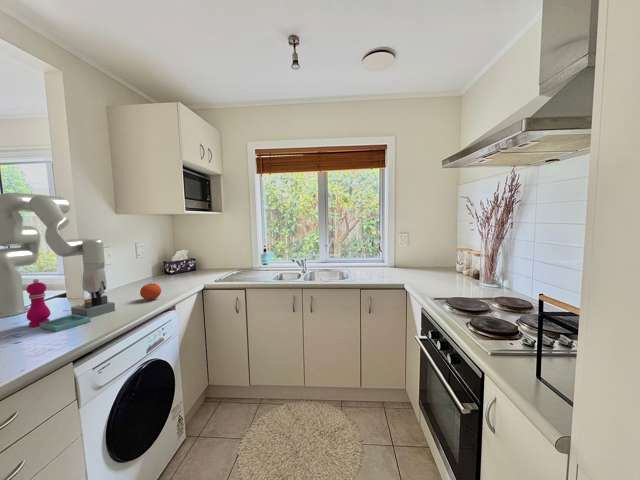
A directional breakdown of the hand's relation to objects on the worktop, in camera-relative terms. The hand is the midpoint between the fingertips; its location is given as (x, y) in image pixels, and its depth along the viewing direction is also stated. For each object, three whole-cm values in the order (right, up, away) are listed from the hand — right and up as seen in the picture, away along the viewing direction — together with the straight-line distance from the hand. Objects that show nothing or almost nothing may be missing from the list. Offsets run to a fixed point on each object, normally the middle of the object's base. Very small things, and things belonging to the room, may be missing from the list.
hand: (96, 305), depth 128 cm
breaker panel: (-6, -5, +6) cm, 10 cm away
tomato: (+8, -4, +28) cm, 30 cm away
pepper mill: (-18, -7, -9) cm, 21 cm away
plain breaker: (-3, -1, +8) cm, 8 cm away
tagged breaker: (-5, -1, +2) cm, 6 cm away
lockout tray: (-6, -6, -9) cm, 12 cm away
